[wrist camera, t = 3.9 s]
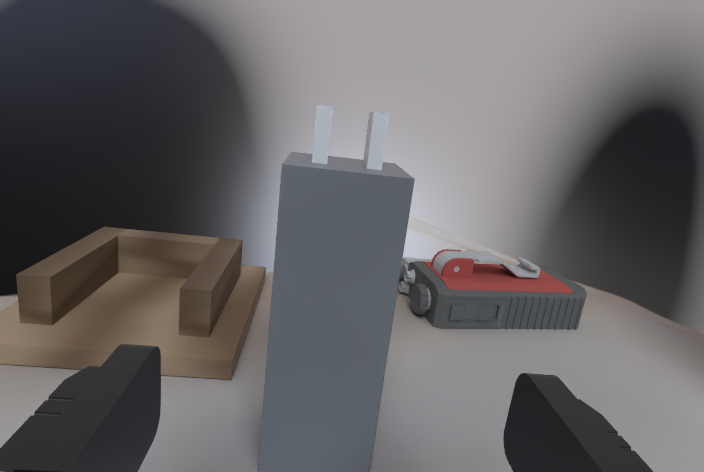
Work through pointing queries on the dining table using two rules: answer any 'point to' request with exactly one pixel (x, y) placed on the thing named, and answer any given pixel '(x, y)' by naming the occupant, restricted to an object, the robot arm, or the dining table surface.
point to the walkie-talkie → (489, 293)
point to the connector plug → (332, 303)
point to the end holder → (135, 303)
